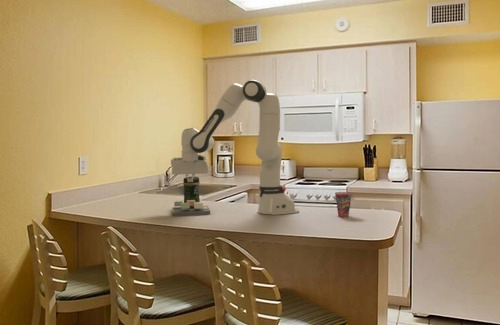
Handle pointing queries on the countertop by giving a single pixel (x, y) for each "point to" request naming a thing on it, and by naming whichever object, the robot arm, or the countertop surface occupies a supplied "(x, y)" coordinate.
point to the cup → (343, 203)
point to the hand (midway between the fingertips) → (190, 182)
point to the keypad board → (190, 211)
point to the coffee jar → (191, 189)
